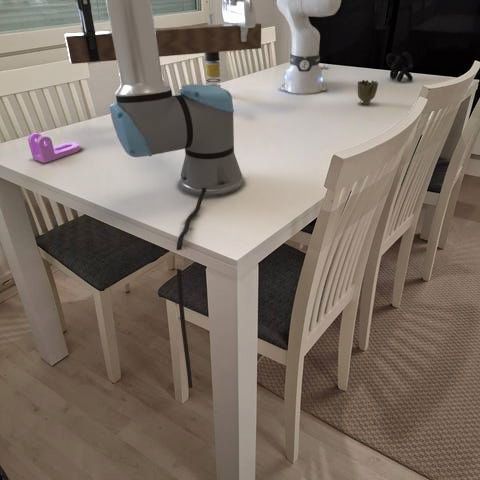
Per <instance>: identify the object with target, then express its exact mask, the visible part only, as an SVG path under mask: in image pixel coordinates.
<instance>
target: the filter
mask: <svg viewBox="0 0 480 480" xmlns="http://www.w3.org/2000/svg"><path fill="white" fill-rule="evenodd" d="M207 16H208V25H213V16H214V13H207ZM204 54H205V60H204V61H205V66H206V67H205V68H206V69H205V71H206V78H208V79H206V83H207V82H208V83H211V84H209V85H210V86H216V87H220V88H222V86H221V84H218V83H219V82H220V81H221V79H219V78H220V77H221V71H220V70H221V69H220V62H219V61H221V60H220V59H221V58H220V52H211V53H204ZM213 79H215V80H213ZM212 80H213V81H212Z"/></svg>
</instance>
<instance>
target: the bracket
mask: <svg viewBox="0 0 480 480" xmlns="http://www.w3.org/2000/svg"><path fill="white" fill-rule="evenodd" d="M27 141H28V142H27V143H28V145H29V149H30V153H31V157H32V159H33V160H35V161H38V162H40V163H42V164H47V163H49V162H51V161H52V162H53V161H55V160H58V159H60V158H63V157H66V156H69V155H71V154H75V153H77V152H79V151H80V150H81V148H80V147H81V146H80V144H79V142H75V141H73V142H72V141H71V142H65V143H61V144H59V145H55V146H54V145H53V141H52V139H51V138H50V137H49V136H48V135H42V134H40V133H38V132H32V133H30V134H29V135H28V137H27Z"/></svg>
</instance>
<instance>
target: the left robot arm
mask: <svg viewBox="0 0 480 480" xmlns="http://www.w3.org/2000/svg"><path fill="white" fill-rule="evenodd" d="M75 3H76V8H77V10H78V14H79V15H78V16H79V20H80V26H81V31H82V33H86V34H85V35H83V36H84V37H86V42H87V47H88V53H89V58H90V61H97V60H99V54H98V48H97V43H96V37H95V35H96V32H97V31H96V29H95V24H94V23H95V22H94V18H93V12H92V5H91V0H75ZM105 5H106V9H107V10H106V11H107V15H108V19H109V26H110V31H111V32H112V37H113V43H114V48H115V53H116V59H117V60H116V64H117V70H118V75H119V80H120V86H119V88H118V89H117V91H116V92H115V99H116V100H115V101H116V102H113V104H110V107H109V112H110V118H111V122H112V125H113V128H114V130H115V133H116V136H117V138H118V141H119V142H120V145H121V147H122V149H123V150H124V151H125V153H126V154H127V155H128V156H130V157H132V158H142V157H152V156H155V155H159V154H165V153H171V152H175V151H179V150H184V154H185V155H184V158H183V164H182V168H181V171H180V176H179V183H180V184H179V185H180V188H181V189H182V191H184V192H186V193H187V194H190V195H194V196H199V197H198V199H197V202H196V205H195V208H194V210H192V212H191V213H190V214H189V215H188V216H187V218H186V219H185V222H184V227H183V229H182V231H181V233H180V234H179V235H178V238H177V241H176V251H181V250H182V246H183V242H184V241H183V240H184V238H185V236H186V235H187V233H188V231H189V229H190V223H191V221H192V220H193V219H194V217H196V215H197V214H198V213H199V211H200V209H201V206H202V202H203V200H204V197H221V196H224V195H229V194H232V193H234V192H235V191H237V190H239V189H240V188H241V187H242V185H243V174H242V171H241V168H240V165H239V163H238V160H237V157H236V154H235V132H234V131H235V130H234V127H235V126H234V112H235V110H234V102H233V96H232V94H231V92H230V91H229V90H227V89H225V88H223V87H221V88H220V87H216V86H210V84H200V83H199V84H197V83H196V84H184V85H181V86H180V87H179V90H178V93H179V94H177V95H173V92H172V87H171V86H170V85H169V84H167V83H166V82H165V81H164V80H163V72H162V67H161V61H160V59H161V58H160V57H159V52H158V45H157V38H156V32H155V28H156V25H155V18H154V12H153V5H152V0H105ZM182 272H183V271H182V269H180V268H177V269H176V281H177V296H178V309H179V320H180V328H181V336H182V344H183V351H184V360H185V361H184V362H185V369H186V374H187V376H186V377H187V385H188V386H187V387H188V388H189V389H192V388H193V377H192V367H191V361H190V360H191V359H190V353H189V344H188V335H187V327H186V317H185V306H184V290H183V273H182Z"/></svg>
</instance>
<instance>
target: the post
mask: <svg viewBox="0 0 480 480" xmlns="http://www.w3.org/2000/svg"><path fill="white" fill-rule="evenodd" d="M95 32H96V35H95V37H96V43H97V48H98V54H99V60H97V61H90V58H89V53H88V47H87V42H86V37H84V36H83V35H85V34H86V33H83V32H76V33H75V32H74V33H64V38H65V43H66V48H67V53H68V54H67V55H68V59H69V62H70V64H71V65H75V64H76V65H77V64H89V63H101V62H113V61H117V59H116V53H115V48H114V43H113V37H112V32H111V30H108V31H95ZM155 32H156V38H157V45H158V52H159V58H161V57H174V56H187V55H199V54H205V53H211V52H219V53H222V52H223V53H224V52H233V51H234V52H236V51H248V50H260V49H262V23H258V22H256V24H255V27H254V28H248V32H247V36H246V39H247V40H246V42H241V41H240V36H241V29H240V26H237V25H234V24H229V23H221V24H212V25H209V24H206V25H204V24H203V25H191V26H190V25H189V26H175V27H173V26H172V27H157V28H156V27H155Z"/></svg>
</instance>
